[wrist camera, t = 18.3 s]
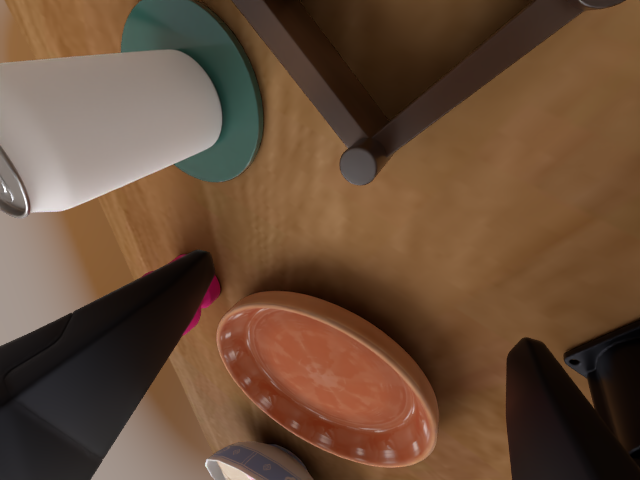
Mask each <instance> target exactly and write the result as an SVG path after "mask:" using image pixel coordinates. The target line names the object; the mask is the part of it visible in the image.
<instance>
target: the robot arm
mask: <svg viewBox="0 0 640 480" xmlns="http://www.w3.org/2000/svg"><path fill="white" fill-rule="evenodd" d="M214 275H215V268H214V264H213V260H212V256H211V254H210V253H209V252H206V251H203V250H195V251H193V252H191V253H189V254H187V255H185V256H183V257H181V258H179V259H177V260H175V261H173V262H171V263H169V264H167V265H165V266H163V267H161V268H159V269H157V270H155V271H153V272H151V273H149V274H147V275H145V276H143V277H141V278H139V279H137V280H135V281H133V282H131V283H129V284H127V285H125V286H123V287H121V288H119V289H117V290H115V291H113V292H111V293H109V294H108V295H105V296H103V297H102V298H99V299H97V300H95V301H94V302H92V303H90V304H88V305H86V306H84V307H82V308H80V309H78V310H76V311H74V312H73V313H70V314H68V315H66V316H64V317H62V318H60V319H58V320H56V321H54V322H52V323H49V324H47V325H46V326H43V327H41V328H39V329H37V330H35V331H33V332H31V333H29V334H27V335H24V336H22V337H20V338H17V339H15V340H13V341H11V342H9V343H6V344H4V345H2V346H0V480H91V478H92V476H93V475H94V473H95V472H96V470H97V469H98V467H99V465H100V464H101V462H102V459H104V457H105V456H106V454H107V453H108V451H109V449H110V448H111V446H112V445H113V443H114V442H115V440H116V439H117V437H118V435H119V434H120V432H121V431H122V429H123V428H124V426H125V424H126V423H127V421H128V420H129V418H130V416H131V415H132V414H133V412H134V410H135V409H136V407H137V406H138V404H139V403H140V401H141V399H142V398H143V396H144V395H145V393H146V392H147V390H148V388H149V387H150V385H151V384H152V382H153V381H154V379H155V378H156V376H157V374H158V373H159V371H160V370H161V368H162V367H163V365H164V363H165V362H166V360H167V359H168V357H169V356H170V354H171V353H172V351H173V349H174V348H175V346H176V345H177V343H178V342H179V340H180V339H181V337H182V335H183V334H184V332H185V331H186V329H187V328H188V326H189V324H190V323H191V321H192V319H193V318H194V316H195V314H196V312H197V310H198V308H199V306H200V304H201V302H202V300H203V298H204V296H205V294H206V292H207V290H208V288H209V286H210V284H211V282H212V280H213V278H214ZM563 356H564V361H565V363H566V364H567V365H568V366H569V367H571V368H572V369H574V370H575V371H577V372H578V373H580V374H581V375H583V376H584V377H586V378H587V380H588V384H589V388H590V392H591V396H592V400H593V404H594V408H595V409H594V408H593V407H592V405H591V404H590V403H589V401H588V400H587V399H586V398H585V396H584V395H583V394H582V392H581V391H580V390H579V388H578V387H577V386H576V384H575V383H574V382H573V381H572V379H571V378H570V377H569V375H568V374H567V373H566V371H565V370H564V369H563V368H562V366H561V365H560V364H559V362H558V361H557V360H556V358H555V357H554V356H553V354H552V353H551V352H550V351H549V349H548V348H547V347H546V345H545V344H544V343H542V342H541V341H538V340H535V339H531V338H527V337H525V338H522V339H521V340H520V341H519V342H518V343H517V344H516V345H515V347H514V348H513V349H512V350H511V351H510V352H509V354H508V356H507V373H506V423H507V434H508V443H509V453H510V462H511V472H512V480H640V320H639V321H637V322H635V323H632V324H630V325H628V326H625V327H623V328H621V329H619V330H616V331H614V332H612V333H609V334H607V335H605V336H602V337H600V338H598V339H596V340H593V341H591V342H589V343H586V344H584V345H582V346H580V347H577V348H575V349H573V350H570V351H568V352H566V353H565V354H564V355H563ZM572 359H576V360H572Z"/></svg>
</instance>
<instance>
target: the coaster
mask: <svg viewBox="0 0 640 480" xmlns="http://www.w3.org/2000/svg"><path fill="white" fill-rule="evenodd" d="M151 50H177V51H180V52H183V53H185V54H187V55H188V56H190V57H191V58H192V59H194V60H195V61H196V62H197V63H198V64H199V65H200V66H201V67H202V68H203V69H204V70H205V72H206V73H207V74H208V76H209V77H210V79H211V80H212V82H213V84H214V86H215V88H216V90H217V92H218V95H219V98H220V102H221V106H222V127H221V132H220V135H219V137H218V139H217V141H216V142H215V143H214V145H212V146H211V147H210V148H208V149H206V150H204V151H202V152H199V153H197V154H195V155H193V156H191V157H188V158H186V159H184V160H182V161H179V162H177V163H175V164H174V165H175V166H176V167H178V168H179V169H180V170H182V171H183V172H185V173H187V174H188V175H190V176H193V177H195V178H197V179H200V180H203V181H208V182H224V181H228V180H231V179H233V178H235V177H237V176H238V175H240V174H242V173H243V172H244V171H245V170H246V169H248V167H249V166H250V165H251V164H252V162H253V161H254V159H255V157H256V155H257V153H258V150H259V147H260V144H261V140H262V134H263V107H262V99H261V94H260V90H259V86H258V82H257V79H256V76H255V73H254V71H253V68H252V66H251V63H250V61H249V59H248V57H247V55H246V53H245V51H244V49H243V48H242V46H241V44H240V43H239V41H238V40H237V38H236V37H235V35H234V34H233V32H232V31H231V30H230V29H229V28H228V26H227V25H226V24H225V23H224V22H223V21H222V20H221V19H220V18H219V17H218V16H217V15H216V14H215V13H214V12H213V11H211V10H210V9H209V8H207V7H206V6H205V5H203V4H202V3H200V2H198V1H196V0H141V1H140V2H139V3H138V4H137V5H136V6H135V7H134V8H133V9H132V11H131V13H130V14H129V16H128V18H127V21H126V23H125V26H124V30H123V34H122V42H121V53H125V52H138V51H151Z"/></svg>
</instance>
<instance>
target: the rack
mask: <svg viewBox="0 0 640 480" xmlns="http://www.w3.org/2000/svg"><path fill="white" fill-rule="evenodd" d="M232 1H233V3H234V4H235V5H236V6H237V8H238V9H239V10H240V12H241V13H242V14H243V15H244V17H245V18H246V19H247V20H248V22H249V23H250V24H251V26H252V27H253V28H254V29H255V31H256V32H257V33H258V35H259V36H260V37H261V38H262V40H263V41H264V42H265V43H266V45H267V46H268V47H269V49H270V50H271V51H272V52H273V54H274V55H275V56H276V57H277V59H278V60H279V61H280V63H281V64H282V65H283V66H284V68H285V69H286V70H287V71H288V73H289V74H290V75H291V77H292V78H293V79H294V80H295V82H296V83H297V84H298V85H299V87H300V88H301V89H302V91H303V92H304V93H305V94H306V96H307V97H308V98H309V99H310V101H311V102H312V103H313V105H314V106H315V107H316V108H317V110H318V111H319V112H320V113H321V115H322V116H323V117H324V119H325V120H326V121H327V122H328V124H329V125H330V126H331V127H332V129H333V130H334V131H335V133H336V134H337V135H338V136H339V138H340V139H341V140H342V141H343V143H344V144H345V145H346V147H347V148H348V149H347V150H346V151H345V152H344V153H343V154H342V156H341V159H340V170H341V173H342V175H343V176H344V178H345V179H346V180H347V181H348V182H350V183H352V184H355V185H366V184H368V183H370V182H371V181H372V180H373V179H374V178H375V177H376V176H377V174H378V173H379V172H380V171H381V169H382V168H383V167H384V166H385V164H386V163H387V162H388V161H389V159H390V158H391V157H392V156H393V154H394V153H395V152H396V151H397V150H398V149H399V148H401V147H402V146H403V145H405V144H406V143H407V142H409V141H410V140H411V139H413V138H414V137H415V136H417V135H418V134H419V133H421V132H422V131H423V130H425V129H426V128H428V127H429V126H430V125H432V124H433V123H434V122H436V121H437V120H438V119H440V118H441V117H442V116H444V115H445V114H446V113H448V112H449V111H450V110H452V109H453V108H454V107H456V106H457V105H458V104H460V103H461V102H462V101H464V100H465V99H466V98H468V97H469V96H470V95H472V94H473V93H474V92H476V91H477V90H479V89H480V88H481V87H483V86H484V85H485V84H487V83H488V82H489V81H491V80H492V79H493V78H495V77H496V76H497V75H499V74H500V73H501V72H503V71H504V70H505V69H507V68H508V67H509V66H511V65H512V64H513V63H515V62H516V61H517V60H519V59H520V58H521V57H523V56H524V55H525V54H527V53H528V52H530V51H531V50H532V49H534V48H535V47H536V46H538V45H539V44H540V43H542V42H543V41H544V40H546V39H547V38H548V37H550V36H551V35H552V34H554V33H555V32H556V31H558V30H559V29H560V28H562V27H563V26H564V25H566V24H567V23H568V22H570V21H571V20H572V19H574V18H575V17H577V16H578V15H579V14H581V13H582V12H583V11H587V10H595V9H603V8H608V7H612V6H615V5H617V4H620V3H622V2H624V1H626V0H533V1H532V2H531V3H530V4H528V5H527V6H526V7H525V8H524V9H522V10H521V11H520V12H519V13H518V14H516V15H515V16H514V17H513V18H512V19H511V20H509V21H508V22H507V23H506V24H505V25H503V26H502V27H501V28H500V29H499V30H497V31H496V32H495V33H494V34H493V35H491V36H490V37H489V38H488V39H487V40H485V41H484V42H483V43H482V44H481V45H480V46H478V47H477V48H476V49H475V50H474V51H472V52H471V53H470V54H469V55H468V56H466V57H465V58H464V59H463V60H462V61H460V62H459V63H458V64H457V65H456V66H454V67H453V68H452V69H451V70H450V71H449V72H447V73H446V74H445V75H444V76H443V77H441V78H440V79H439V80H438V81H437V82H435V83H434V84H433V85H432V86H431V87H429V88H428V89H427V90H426V91H425V92H423V93H422V94H421V95H420V96H419V97H418V98H416V99H415V100H414V101H413V102H412V103H410V104H409V105H408V106H407V107H406V108H404V109H403V110H402V111H401V112H400V113H398V114H397V115H396V116H395V117H394V118H392V119H391V120H390V121H388V120H387V118H386V117H385V116H384V114H383V113H382V111H381V110H380V109H379V107H378V106H377V105H376V103H375V102H374V101H373V99H372V98H371V97H370V95H369V94H368V93H367V91H366V90H365V89H364V87H363V86H362V85H361V83H360V82H359V81H358V79H357V78H356V77H355V75H354V74H353V73H352V71H351V70H350V69H349V67H348V66H347V65H346V63H345V62H344V61H343V59H342V58H341V57H340V55H339V54H338V53H337V51H336V50H335V49H334V47H333V46H332V45H331V43H330V42H329V41H328V39H327V38H326V37H325V35H324V34H323V32H322V31H321V30H320V28H319V27H318V26H317V24H316V23H315V22H314V20H313V19H312V18H311V16H310V15H309V14H308V12H307V11H306V10H305V8H304V7H303V6H302V4H301V3H300V2H299V0H232Z"/></svg>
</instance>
